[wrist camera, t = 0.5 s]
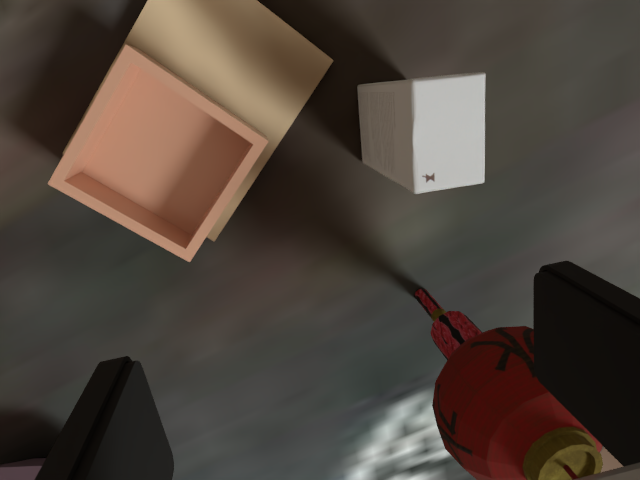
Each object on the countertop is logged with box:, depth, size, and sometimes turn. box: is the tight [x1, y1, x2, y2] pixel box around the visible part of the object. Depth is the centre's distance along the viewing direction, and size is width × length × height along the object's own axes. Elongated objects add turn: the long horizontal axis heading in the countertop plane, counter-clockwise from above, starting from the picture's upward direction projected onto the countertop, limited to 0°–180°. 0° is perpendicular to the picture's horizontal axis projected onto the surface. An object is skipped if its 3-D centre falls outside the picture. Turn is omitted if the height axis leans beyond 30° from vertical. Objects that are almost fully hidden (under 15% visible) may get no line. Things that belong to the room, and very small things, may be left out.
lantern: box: [415, 289, 603, 480], centre depth 26 cm, size 10×9×30 cm
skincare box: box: [357, 72, 486, 194], centre depth 29 cm, size 6×4×12 cm
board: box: [62, 0, 334, 241], centre depth 32 cm, size 16×12×1 cm
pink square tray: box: [48, 45, 269, 262], centre depth 30 cm, size 10×10×4 cm
